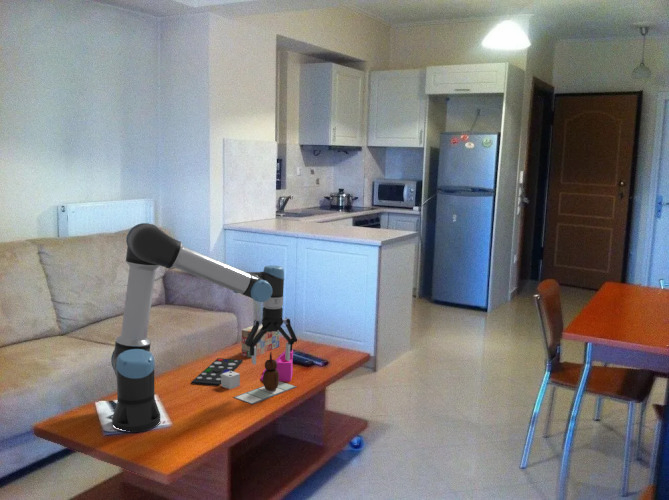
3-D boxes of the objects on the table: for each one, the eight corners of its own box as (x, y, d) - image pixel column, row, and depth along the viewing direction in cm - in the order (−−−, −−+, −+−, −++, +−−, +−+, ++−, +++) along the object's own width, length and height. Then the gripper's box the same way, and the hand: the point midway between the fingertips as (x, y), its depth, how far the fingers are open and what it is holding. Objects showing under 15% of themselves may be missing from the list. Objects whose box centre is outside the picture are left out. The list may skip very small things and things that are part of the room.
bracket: (292, 373, 259) (293, 349, 258) (290, 381, 249) (291, 356, 248) (263, 372, 259) (264, 348, 258) (260, 380, 249) (260, 355, 248)
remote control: (242, 363, 271) (242, 358, 271) (218, 387, 242) (218, 382, 241) (217, 361, 273) (217, 356, 273) (191, 385, 243) (191, 380, 243)
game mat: (252, 404, 224) (252, 404, 224) (233, 397, 230) (233, 397, 230) (296, 387, 243) (296, 386, 243) (278, 380, 249) (278, 380, 249)
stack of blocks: (268, 344, 298) (269, 319, 297) (279, 346, 296) (280, 321, 294) (241, 356, 280) (241, 329, 278) (252, 358, 277) (252, 331, 275)
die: (230, 389, 239) (230, 376, 238) (221, 386, 242) (221, 373, 241) (239, 386, 243) (239, 373, 242) (230, 383, 246) (230, 370, 245)
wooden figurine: (276, 391, 235) (275, 352, 234) (261, 391, 236) (260, 352, 235) (281, 386, 242) (280, 348, 241) (266, 386, 243) (265, 348, 242)
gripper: (244, 311, 226) (242, 368, 228) (307, 307, 237) (304, 361, 240) (237, 306, 232) (236, 362, 235) (299, 303, 243) (297, 355, 246)
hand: (270, 361), depth 237 cm, fingers open, 13 cm apart
